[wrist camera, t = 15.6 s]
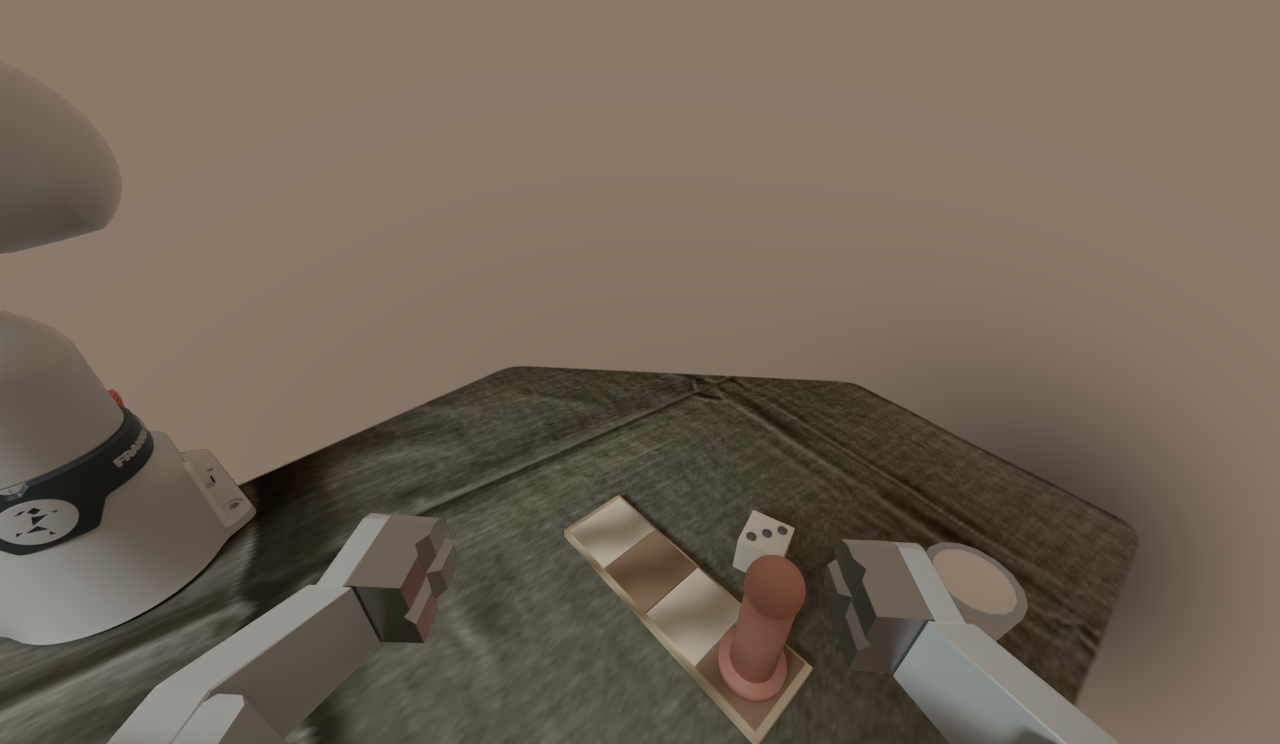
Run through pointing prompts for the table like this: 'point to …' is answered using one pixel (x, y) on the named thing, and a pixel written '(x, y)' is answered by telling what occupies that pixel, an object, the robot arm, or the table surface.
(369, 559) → the robot arm
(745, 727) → the board
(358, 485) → the table surface
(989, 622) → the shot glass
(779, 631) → the pawn
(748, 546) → the die
